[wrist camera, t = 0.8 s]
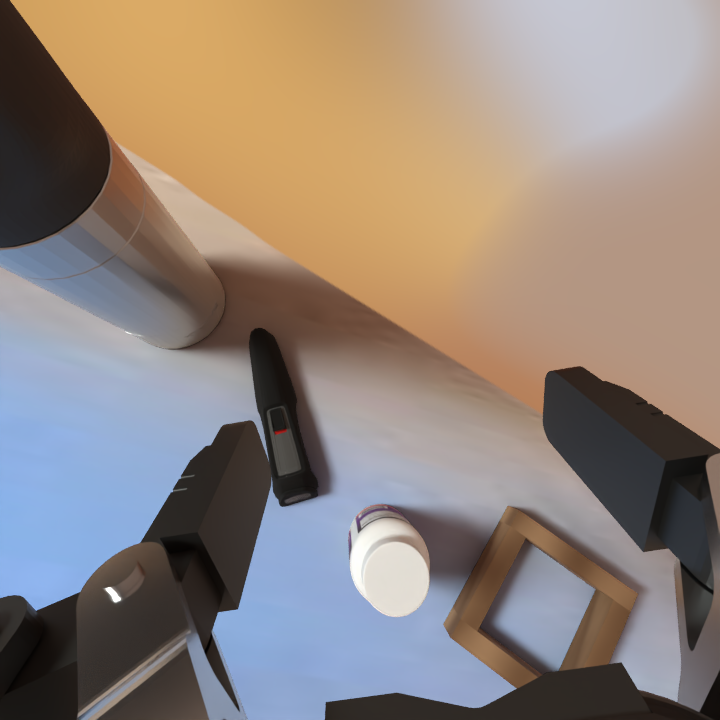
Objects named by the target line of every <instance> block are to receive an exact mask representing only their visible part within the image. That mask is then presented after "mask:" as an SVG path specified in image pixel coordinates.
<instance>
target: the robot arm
mask: <svg viewBox="0 0 720 720" xmlns="http://www.w3.org/2000/svg"><path fill="white" fill-rule="evenodd" d="M0 267H2V268H4V269H6V270H8V271H10V272H12V273H14V274H16V275H18V276H20V277H22V278H24V279H26V280H28V281H30V282H32V283H34V284H36V285H37V286H39V287H41V288H43V289H45V290H47V291H49V292H51V293H53V294H55V295H57V296H59V297H61V298H62V299H64V300H66V301H68V302H70V303H72V304H74V305H76V306H78V307H80V308H82V309H84V310H86V311H88V312H89V313H91V314H93V315H95V316H97V317H99V318H101V319H103V320H105V321H107V322H109V323H111V324H113V325H115V326H116V327H118V328H120V329H122V330H124V331H126V332H128V333H130V334H132V335H133V336H135V337H137V338H139V339H141V340H143V341H145V342H147V343H149V344H151V345H154V346H156V347H161V348H165V349H178V348H183V347H187V346H190V345H192V344H195V343H197V342H199V341H200V340H202V339H204V338H205V337H207V336H208V335H209V334H210V333H211V332H212V331H213V330H214V329H215V327H216V326H217V324H218V323H219V321H220V319H221V317H222V315H223V312H224V307H225V293H224V289H223V286H222V284H221V282H220V280H219V278H218V277H217V276H216V274H215V273H214V272H213V270H212V269H211V268H210V266H209V265H208V264H207V262H206V261H205V260H204V258H203V257H202V256H201V254H200V253H199V252H198V250H197V249H196V248H195V246H194V245H193V244H192V242H191V241H190V240H189V238H188V237H187V236H186V234H185V233H184V232H183V231H182V229H181V228H180V227H179V225H178V224H177V223H176V221H175V220H174V219H173V217H172V216H171V215H170V213H169V212H168V211H167V209H166V208H165V207H164V205H163V204H162V203H161V202H160V200H159V199H158V198H157V196H156V195H155V194H154V192H153V191H152V190H151V188H150V187H149V186H148V184H147V183H146V182H145V180H144V179H143V178H142V177H141V175H140V174H139V173H138V171H137V170H136V169H135V167H134V166H133V165H132V163H131V162H130V161H129V160H128V159H127V157H126V156H125V155H124V153H123V152H122V151H121V149H120V148H119V147H118V145H117V144H116V143H115V141H114V140H113V139H112V137H111V136H110V135H109V133H108V132H107V131H106V130H105V128H104V127H103V126H102V124H101V123H100V122H99V120H98V119H97V117H96V116H95V115H94V113H93V112H92V111H91V109H90V108H89V107H88V106H87V104H86V103H85V102H84V101H83V99H82V98H81V96H80V95H79V94H78V92H77V91H76V90H75V89H74V87H73V86H72V84H71V83H70V82H69V80H68V79H67V78H66V76H65V75H64V73H63V72H62V71H61V70H60V68H59V67H58V65H57V64H56V63H55V61H54V60H53V58H52V57H51V56H50V54H49V53H48V51H47V50H46V49H45V47H44V46H43V44H42V43H41V42H40V40H39V39H38V38H37V36H36V35H35V34H34V33H33V31H32V30H31V28H30V27H29V26H28V24H27V23H26V22H25V20H24V19H23V17H22V16H21V15H20V13H19V12H18V11H17V10H16V8H15V7H14V5H13V4H12V3H11V1H10V0H0ZM543 426H544V430H545V433H546V436H547V438H548V440H549V442H550V443H551V444H552V445H553V447H554V448H555V449H556V450H557V451H558V452H559V454H560V455H561V456H562V457H563V458H564V460H565V461H566V462H567V463H568V464H569V465H570V467H571V468H572V469H573V470H574V471H575V472H576V474H577V475H578V476H579V477H580V478H581V479H582V481H583V482H584V483H585V484H586V485H587V487H588V488H589V489H590V490H591V491H592V492H593V494H594V495H595V496H596V497H597V498H598V499H599V501H600V502H601V503H602V504H603V505H604V506H605V508H606V509H607V510H608V511H609V512H610V513H611V515H612V516H613V517H614V518H615V519H616V521H617V522H618V523H619V524H620V525H621V526H622V528H623V529H624V530H625V531H626V532H627V533H628V535H629V536H630V537H631V538H632V539H633V540H634V542H635V543H636V544H637V545H638V546H639V548H640V549H641V550H642V551H643V552H646V551H653V550H660V549H667V548H669V549H670V550H671V551H672V553H673V554H674V555H675V556H676V557H677V558H676V562H675V565H674V577H675V589H676V602H677V614H678V627H679V639H680V652H681V675H680V683H679V690H678V702H675V701H673V700H670V699H668V698H665V697H662V696H658V695H655V694H652V693H649V692H645V691H641V690H638V689H637V688H636V686H635V684H634V683H633V681H632V679H631V678H630V676H629V674H628V673H627V671H626V669H625V668H624V666H623V664H622V663H614V664H607V665H600V666H592V667H585V668H577V669H570V670H562V671H555V672H548V673H545V674H543V675H542V676H540V677H538V678H536V679H534V680H532V681H530V682H529V683H527V684H525V685H523V686H521V687H519V688H517V689H516V690H514V691H512V692H510V693H508V694H506V695H504V696H503V697H501V698H499V699H497V700H495V701H493V702H491V703H490V704H488V705H486V706H483V707H481V708H468V707H463V706H458V705H453V704H449V703H444V702H439V701H434V700H429V699H424V698H419V697H415V696H410V695H405V694H400V693H392V694H384V695H377V696H369V697H362V698H354V699H347V700H340V701H332V702H326V710H325V720H720V449H719V448H717V447H716V446H714V445H713V444H711V443H710V442H708V441H707V440H705V439H703V438H702V437H700V436H699V435H697V434H696V433H694V432H693V431H691V430H690V429H688V428H687V427H685V426H684V425H682V424H681V423H679V422H678V421H676V420H674V419H673V418H672V417H670V416H669V415H666V414H665V415H664V414H663V412H662V411H661V410H659V409H658V408H656V407H655V406H653V405H652V404H648V403H647V401H646V400H644V399H643V398H641V397H639V396H638V395H636V394H635V393H634V392H632V391H631V390H629V389H626V388H623V387H621V386H618V385H615V384H612V383H610V382H607V381H602V380H601V379H599V378H598V377H596V376H595V375H593V374H592V373H590V372H589V371H587V370H586V369H585V368H583V367H580V366H579V367H572V368H566V369H560V370H554V371H549V372H548V373H547V375H546V378H545V393H544V408H543ZM270 487H271V468H270V464H269V461H268V458H267V455H266V453H265V450H264V447H263V444H262V441H261V439H260V436H259V433H258V430H257V428H256V425H255V424H254V422H253V421H244V422H238V423H232V424H226V425H223V426H222V427H221V429H220V430H219V432H218V434H217V436H216V437H215V439H214V441H213V443H212V445H210V446H206V447H204V448H203V449H202V450H201V451H200V452H199V453H198V454H197V455H196V456H195V457H194V458H193V459H192V460H190V462H189V464H188V465H187V467H186V469H185V470H184V472H183V474H182V475H181V479H179V480H178V482H177V483H176V485H175V487H174V488H173V492H172V493H170V495H169V497H168V498H167V500H166V502H165V503H164V505H163V507H162V508H161V510H160V511H159V513H158V515H157V516H156V518H155V520H154V521H153V523H152V525H151V526H150V528H149V530H148V531H147V533H146V535H145V536H144V538H143V539H142V541H141V543H139V544H136V545H133V546H131V547H128V548H126V549H124V550H122V551H121V552H119V553H117V554H116V555H114V556H113V557H111V558H110V559H109V560H107V561H106V562H105V563H104V564H103V565H101V566H100V567H99V568H98V569H97V570H96V571H95V572H94V573H93V574H92V576H91V577H90V578H89V579H88V581H87V582H86V584H85V585H84V587H83V588H82V590H81V592H79V593H77V594H75V595H72V596H70V597H68V598H65V599H63V600H61V601H58V602H56V603H54V604H51V605H49V606H47V607H44V608H42V609H39V610H37V611H36V610H35V609H34V608H33V607H32V606H31V605H30V604H29V603H28V602H27V601H26V600H25V599H24V597H21V596H16V595H13V596H7V597H3V598H0V720H248V718H247V716H246V713H245V711H244V708H243V706H242V703H241V700H240V698H239V695H238V692H237V690H236V687H235V685H234V682H233V679H232V677H231V674H230V672H229V669H228V666H227V664H226V661H225V659H224V656H223V653H222V651H221V648H220V646H219V643H218V640H217V638H216V635H215V633H214V632H213V630H212V629H213V626H214V623H215V620H216V616H217V613H218V612H223V611H229V610H236V609H238V607H239V603H240V599H241V596H242V592H243V588H244V584H245V581H246V577H247V573H248V569H249V566H250V562H251V558H252V554H253V551H254V547H255V543H256V539H257V536H258V532H259V528H260V525H261V521H262V517H263V513H264V510H265V506H266V502H267V498H268V495H269V491H270Z"/></svg>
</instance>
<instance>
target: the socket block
mask: <svg viewBox="0 0 720 720" xmlns="http://www.w3.org/2000/svg"><path fill="white" fill-rule="evenodd" d="M525 539H526V540H527V541H529V542H530V543H531V544H533V545H534V546H536V547H537V548H538V549H540V550H541V551H543V552H544V553H545V554H547V555H548V556H550V557H551V558H552V559H554V560H555V561H557V562H558V563H559V564H561V565H562V566H564V567H565V568H566V569H568V570H569V571H571V572H572V573H573V574H575V575H576V576H578V577H579V578H580V579H582V580H583V581H585V582H586V583H587V584H589V585H590V586H592V587H593V588H594V589H596V590H595V593H594V595H593V597H592V599H591V601H590V603H589V606H588V608H587V610H586V612H585V614H584V617H583V619H582V621H581V623H580V625H579V628H578V630H577V632H576V634H575V636H574V639H573V641H572V643H571V645H570V647H569V650H568V652H567V654H566V656H565V658H564V661H563V663H562V665H561V667H560V669H559V671H562V670H570V669H577V668H585V667H592V666H600V665H607V664H609V661H610V659H611V657H612V654H613V652H614V650H615V647H616V645H617V642H618V640H619V638H620V635H621V633H622V631H623V628H624V626H625V624H626V621H627V619H628V617H629V614H630V612H631V610H632V607H633V605H634V603H635V600H636V598H637V595H638V594H637V593H636V592H635V591H633V590H632V589H630V588H629V587H628V586H626V585H625V584H623V583H622V582H620V581H619V580H618V579H616V578H615V577H613V576H612V575H610V574H609V573H608V572H606V571H605V570H603V569H602V568H601V567H599V566H598V565H596V564H595V563H593V562H592V561H591V560H589V559H588V558H586V557H585V556H584V555H582V554H581V553H579V552H578V551H576V550H575V549H574V548H572V547H571V546H569V545H568V544H567V543H565V542H564V541H562V540H561V539H559V538H558V537H557V536H555V535H554V534H552V533H551V532H549V531H548V530H547V529H545V528H544V527H542V526H541V525H540V524H538V523H537V522H535V521H534V520H532V519H531V518H530V517H528V516H527V515H525V514H524V513H523V512H521V511H520V510H518V509H515V508H512V507H510V506H508V507H507V509H506V510H505V512H504V514H503V516H502V518H501V520H500V521H499V523H498V525H497V527H496V529H495V531H494V532H493V534H492V536H491V538H490V540H489V542H488V543H487V545H486V547H485V549H484V551H483V553H482V554H481V556H480V558H479V560H478V562H477V564H476V565H475V567H474V569H473V571H472V573H471V575H470V576H469V578H468V580H467V582H466V584H465V586H464V588H463V589H462V591H461V593H460V595H459V597H458V599H457V600H456V602H455V604H454V606H453V608H452V610H451V611H450V613H449V615H448V617H447V619H446V621H445V622H444V624H443V625H444V627H445V628H446V630H447V632H448V634H449V636H450V637H451V638H452V639H453V640H454V641H456V642H457V643H458V644H460V645H461V646H462V647H463V648H465V649H466V650H467V651H469V652H470V653H471V654H473V655H474V656H475V657H476V658H478V659H479V660H480V661H482V662H483V663H484V664H486V665H487V666H488V667H490V668H491V669H492V670H493V671H495V672H496V673H497V674H499V675H500V676H501V677H503V678H504V679H505V680H507V681H508V682H509V683H510V684H512V685H513V686H514V687H516V688H519V687H521V686H523V685H525V684H527V683H529V682H530V681H532V680H534V679H536V678H538V677H540V676H542V674H541V673H539V672H538V671H537V670H535V669H534V668H533V667H531V666H530V665H529V664H527V663H526V662H525V661H523V660H522V659H521V658H520V657H518V656H517V655H516V654H514V653H513V652H512V651H510V650H509V649H508V648H506V647H505V646H504V645H502V644H501V643H500V642H498V641H497V640H496V639H494V638H493V637H492V636H490V635H489V634H488V633H486V632H485V631H484V630H482V629H481V628H480V625H481V623H482V621H483V619H484V618H485V616H486V614H487V612H488V610H489V608H490V606H491V604H492V602H493V600H494V598H495V596H496V594H497V593H498V591H499V589H500V587H501V585H502V583H503V581H504V579H505V577H506V575H507V573H508V571H509V569H510V568H511V566H512V564H513V562H514V560H515V558H516V556H517V554H518V552H519V550H520V548H521V546H522V544H523V543H524V541H525Z"/></svg>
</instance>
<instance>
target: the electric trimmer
mask: <svg viewBox="0 0 720 720" xmlns="http://www.w3.org/2000/svg"><path fill="white" fill-rule="evenodd" d="M249 348H250V357H251V365H252V373H253V381H254V389H255V397H256V403H257V409H258V412H259V414H260V417H261V421H262V425H263V429H264V434H265V440H266V446H267V452H268V458H269V464H270V468H271V476H272V482H273V492H274V494H275V496H276V498H277V499H279V504H280V506H282V507H283V506H288V505H291V504H294V503H298V502H301V501H304V500H308V499H311V498H314V497H316V496H317V495H318V494H317V490H316V489H317V487H318V482H317V479H316V477H315V476H314V474H313V473H312V471H311V468H310V465H309V462H308V458H307V455H306V451H305V448H304V444H303V441H302V437H301V433H300V429H299V424H298V419H297V414H296V403H297V399H296V395H295V392H294V388H293V386H292V383H291V380H290V377H289V374H288V372H287V369H286V366H285V363H284V360H283V358H282V355H281V352H280V349H279V347H278V344H277V342H276V340H275V338H274V336H273V335H271V334H270V333H269V332H267V331H266V330H265V329H262V328H257V329H254V330H253V331H252V332H251V335H250V341H249Z"/></svg>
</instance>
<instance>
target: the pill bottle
mask: <svg viewBox="0 0 720 720" xmlns="http://www.w3.org/2000/svg"><path fill="white" fill-rule="evenodd" d="M348 544H349V560H350V571H351V575H352V579H353V581H354V584H355V586H356V588H357V589H358V591H359V592H360V594H361V595H362V596H363V597H364V598H365V599H366V600H367V601H369V602H370V603H371V604H372V605H373V607H374V608H376V609H377V610H378V611H379V612H381V613H383V614H385V615H387V616H392V617H402V616H406V615H408V614H410V613H412V612H414V611H415V610H416V609H418V607H419V606H420V605H421V604H422V603H423V601H424V599H425V598H426V595H427V592H428V589H429V582H430V577H429V570H430V560H429V553H428V550H427V547H426V544H425V542H424V540H423V539H422V537H421V535H420V534H419V533H418V531H417V530H416V529H415V528H414V527H413V526H412V525H411V524H410V523H409V521H408V520H407V519H406V518H405V517H404V516H403V514H401V513H400V512H399V511H398V510H397V509H395V508H393V507H391V506H388V505H384V504H375V505H371V506H368V507H366V508H364V509H363V510H362V511H360V512H359V513H358V514H357V516H356V517H355V518H354V520H353V522H352V524H351V527H350V531H349V537H348Z"/></svg>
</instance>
